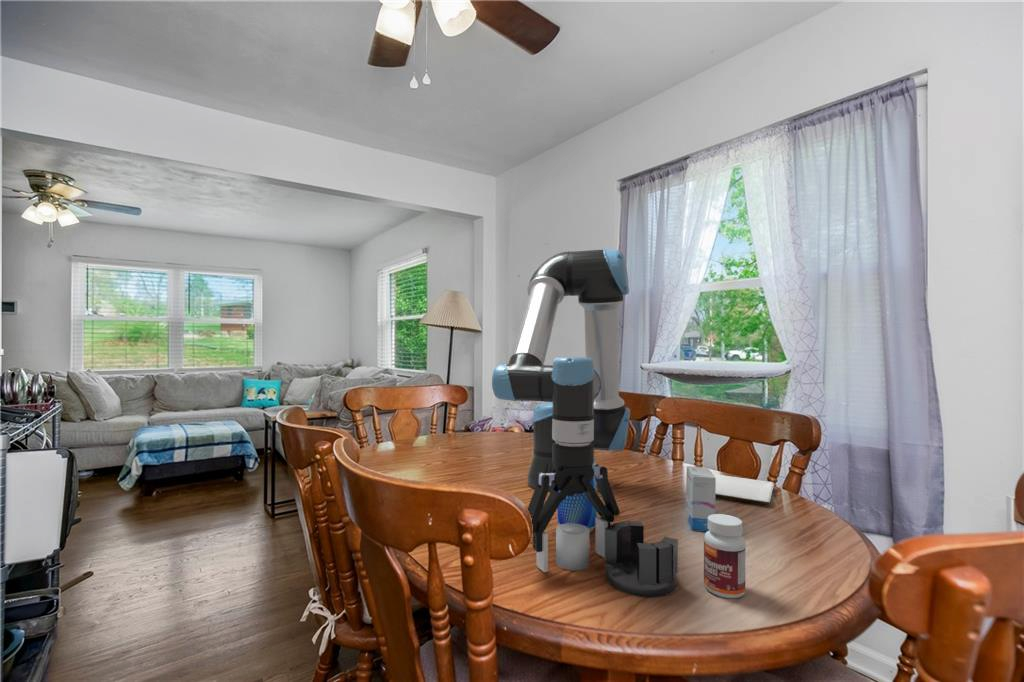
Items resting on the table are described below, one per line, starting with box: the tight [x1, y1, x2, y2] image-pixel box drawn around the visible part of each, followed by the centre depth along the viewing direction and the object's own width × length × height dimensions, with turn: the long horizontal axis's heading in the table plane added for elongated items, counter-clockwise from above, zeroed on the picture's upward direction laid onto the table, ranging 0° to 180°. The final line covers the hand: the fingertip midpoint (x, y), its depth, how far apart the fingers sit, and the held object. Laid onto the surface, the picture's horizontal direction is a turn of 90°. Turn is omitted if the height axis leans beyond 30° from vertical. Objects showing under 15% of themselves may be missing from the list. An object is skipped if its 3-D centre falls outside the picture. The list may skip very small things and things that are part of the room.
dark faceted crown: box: [604, 520, 679, 598], centre depth 80 cm, size 12×12×8 cm
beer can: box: [556, 459, 598, 533], centre depth 102 cm, size 8×8×16 cm
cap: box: [555, 523, 590, 571], centre depth 86 cm, size 6×6×6 cm
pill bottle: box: [703, 513, 746, 599], centre depth 76 cm, size 6×6×11 cm
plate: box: [712, 473, 775, 505], centre depth 127 cm, size 19×19×2 cm
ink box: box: [684, 465, 716, 532], centre depth 104 cm, size 9×5×12 cm, turn 168°
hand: (572, 561), depth 86 cm, fingers open, 12 cm apart
